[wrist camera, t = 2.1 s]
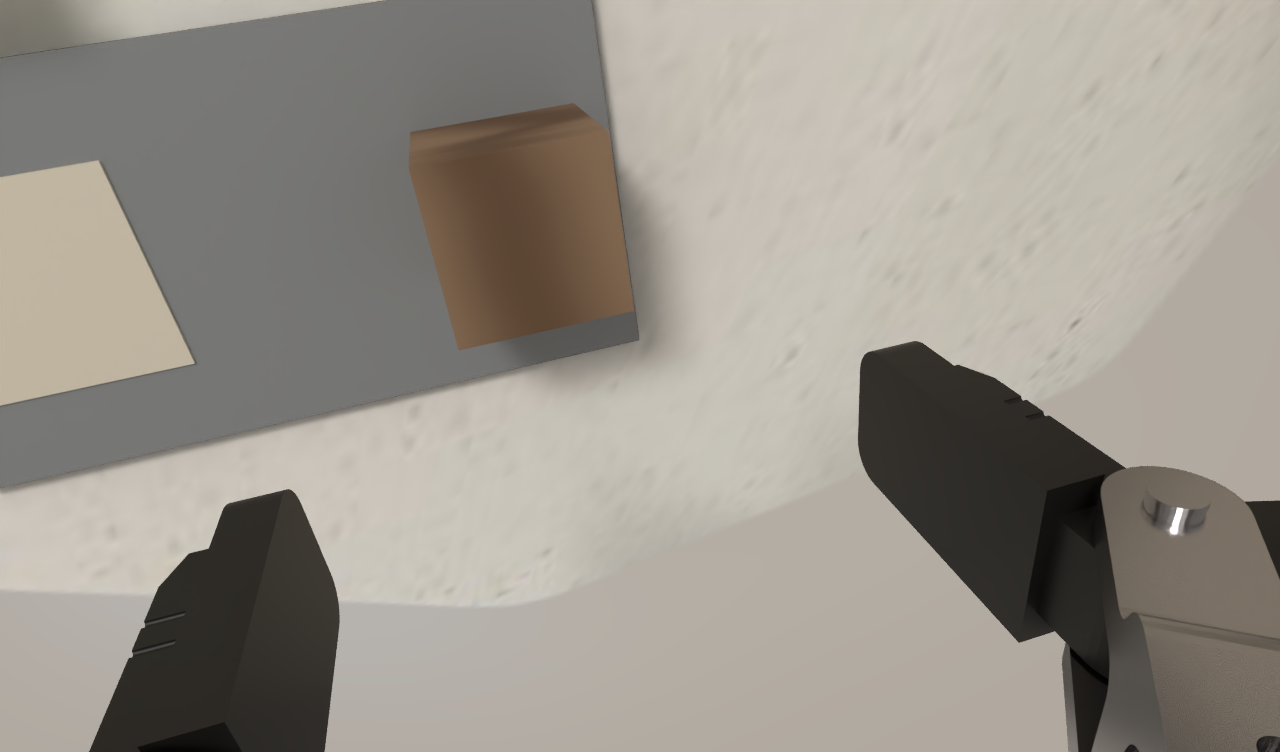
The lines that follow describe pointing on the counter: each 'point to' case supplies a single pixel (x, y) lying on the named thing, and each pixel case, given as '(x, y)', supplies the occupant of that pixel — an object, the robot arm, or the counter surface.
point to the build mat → (251, 220)
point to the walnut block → (522, 222)
